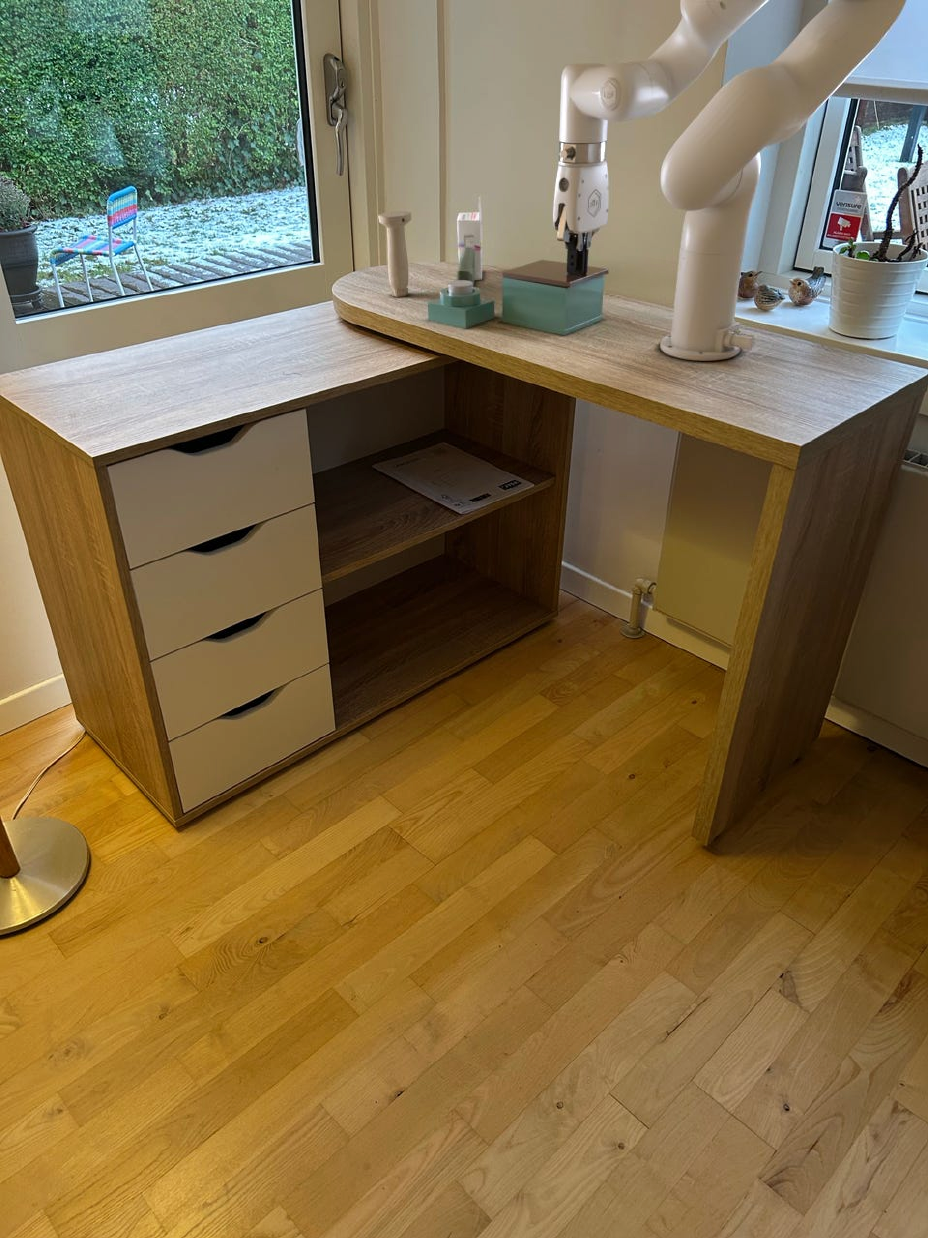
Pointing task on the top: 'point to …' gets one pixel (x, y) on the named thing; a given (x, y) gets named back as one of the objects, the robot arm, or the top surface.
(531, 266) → the brown rectangular panel
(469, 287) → the flush button
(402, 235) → the handle
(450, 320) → the flush button base
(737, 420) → the top surface
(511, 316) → the teal bin
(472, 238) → the ink cartridge box
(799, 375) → the top surface
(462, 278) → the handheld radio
